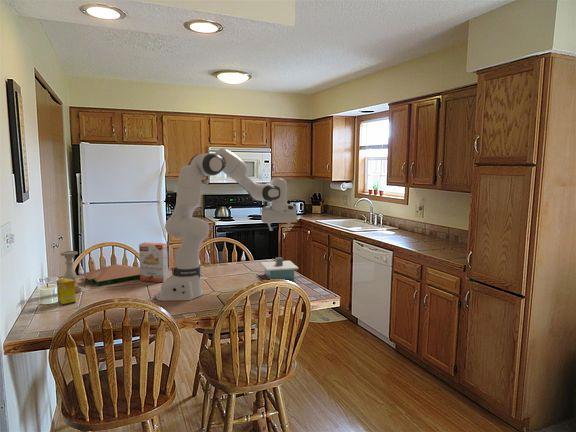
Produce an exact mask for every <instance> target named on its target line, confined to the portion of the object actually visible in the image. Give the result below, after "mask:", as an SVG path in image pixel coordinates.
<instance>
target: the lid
mask: <svg viewBox="0 0 576 432" xmlns="http://www.w3.org/2000/svg"><path fill="white" fill-rule="evenodd" d="M260 265H261V266H262V267H263V268H264V270H265V269H266V270H267V271H276V270H292V269H294V270H299V267H298V266H297V265H296V264H295V263H294V262H292V261H291V260H284V258H283V257H275V261H261V262H260Z"/></svg>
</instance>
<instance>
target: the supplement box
mask: <svg viewBox="0 0 576 432" xmlns="http://www.w3.org/2000/svg"><path fill="white" fill-rule="evenodd" d="M75 286H76V284H75V285H74V280H72V279H71V278H66V279H65V278H62V279H61V278H59V279H57V280H56V288H57V289H56V290H57V303H58V304H60V306H61V307H62V306H68V305H72V304H76V293H75Z"/></svg>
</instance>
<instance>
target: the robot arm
mask: <svg viewBox="0 0 576 432" xmlns="http://www.w3.org/2000/svg"><path fill="white" fill-rule="evenodd" d="M220 173H223V174H225V175H226V176H227V177H229V178H231V179H232V180H233V181H235V182H236V183H237V184H238V185H239V186H240V187H242V188H243V189H244V190H245V191H246V192H247V194H248V196H249V197H250V199H251V200H252V201H256V202H257V201H259V202H260V201H261V202H271V206H264V207H262V208H261V210H260V212H261V213H260V214H261V218H260V219H261V222H262V223H263V224H267V226H268V228H269V231H271V232H272V231H274V230H273V226H272V227H271V225H272V224H274V223H277V224H278V223H287V226H285V231H289V228H290V226H291V223H297V220H298V219H297V217H298V215H297V212H296V206H295V205H293V204H290V203H288V200H287V197H288V196H287V195H288V185H287V181H286V179H284V178H281V177H273V178H272V179H271V180H270V181H269V182H266V183H258V182H255V181H253V180H252V179H251V178H250V177H248V175H247V173H248V166H247V164H246V163H245V161H244V160H243V159H242V158H241V157H240V156H238V155H237V154H235V153H234V152H232V151H230V150H228V149H227V148H219V149H217V150H216V151H215V152H213V153H206V152H205V153H204V152H203V153H200V154H199V153H198V154H196V155H194V156H193V157H192V158H191V159H190V161H189V163H188V165H184V166H183V167H182V166H181V168H180V171H179V175H178V180H177V191H176V202H175V207H174V210H173V211H172V214H171V216H170V217H169V218H167V219H166V222H165V225H164V228H165V231H166V233H167V234H168V235H170V236H171V237H173V238H177V239H178V238H179V239H182V241H181V244H180V245H181V246H180V247H179V248H177V250H176V252H175V263H176V264H175V266H174V265H173V266H171V268H170V270H171V273H172V274H171V275H170V276H168V279H166V280H165V281H164V282H161V283H162V284H161V286H160V290H159V291H158V292H156V294H155V298H156V300H158V301H163V302H164V301H167V302H168V301H191V300H193V299H195V298H199V297H201V296H202V295H203V294H204V291H203V289H202V284H201V275H202V274H201V265H200V249H201V246H202V244H203V241H204V240H205V239H206V238H207V237H208V236H209V232H210V225H209V223H208V222H207V221H206V220H204V219H202V218H199V217H193V215H194V211H195V210H196V209H197V208H199V206H200V204H201V191H202V180H203V178H204V177H210V176H217V175H219V174H220Z"/></svg>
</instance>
